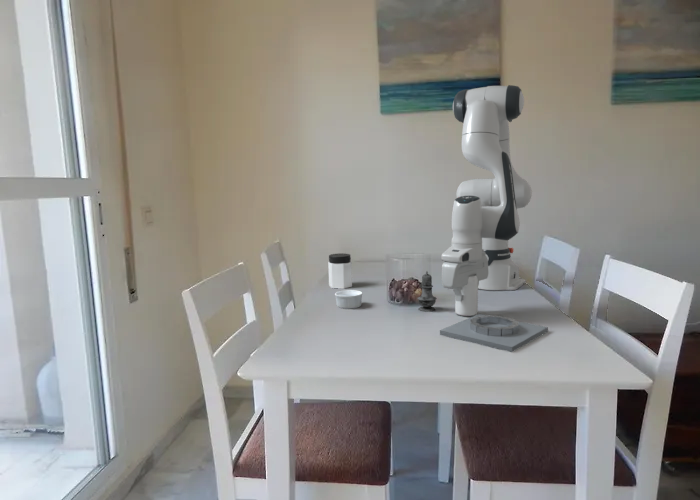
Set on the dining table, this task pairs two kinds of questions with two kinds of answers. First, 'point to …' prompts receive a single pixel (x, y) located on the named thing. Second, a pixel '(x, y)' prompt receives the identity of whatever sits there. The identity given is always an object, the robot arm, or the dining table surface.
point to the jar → (340, 271)
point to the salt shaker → (427, 294)
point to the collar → (494, 331)
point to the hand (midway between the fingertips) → (466, 298)
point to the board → (500, 342)
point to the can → (468, 298)
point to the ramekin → (348, 299)
